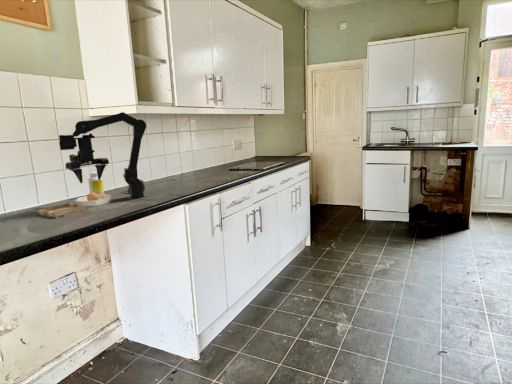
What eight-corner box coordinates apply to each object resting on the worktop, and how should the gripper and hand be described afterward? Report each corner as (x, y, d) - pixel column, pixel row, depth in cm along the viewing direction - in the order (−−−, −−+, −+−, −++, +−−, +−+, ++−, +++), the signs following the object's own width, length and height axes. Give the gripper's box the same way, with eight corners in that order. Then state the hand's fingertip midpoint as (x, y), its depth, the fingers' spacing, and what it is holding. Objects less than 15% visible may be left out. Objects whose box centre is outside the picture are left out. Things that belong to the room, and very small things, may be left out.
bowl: (116, 201, 171) (116, 195, 171) (88, 209, 159) (87, 202, 158) (98, 199, 179) (97, 193, 179) (69, 206, 167) (68, 199, 166)
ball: (101, 201, 170) (99, 191, 169) (91, 204, 166) (90, 194, 165) (95, 201, 172) (93, 191, 171) (85, 203, 168) (84, 193, 167)
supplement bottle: (107, 195, 188) (103, 171, 185) (96, 198, 183) (92, 173, 180) (99, 194, 191) (95, 171, 189) (88, 197, 186) (84, 173, 183)
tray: (87, 210, 157) (86, 205, 156) (55, 218, 145) (54, 213, 145) (69, 207, 164) (69, 202, 164) (38, 214, 153) (37, 209, 153)
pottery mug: (123, 193, 193) (125, 179, 196) (138, 198, 200) (140, 184, 202) (134, 190, 185) (137, 175, 188) (150, 195, 192) (152, 180, 195)
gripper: (93, 146, 176) (98, 177, 179) (56, 150, 160) (61, 183, 164) (107, 146, 170) (111, 178, 173) (69, 150, 154) (75, 185, 158)
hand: (90, 181), depth 167 cm, fingers open, 9 cm apart
